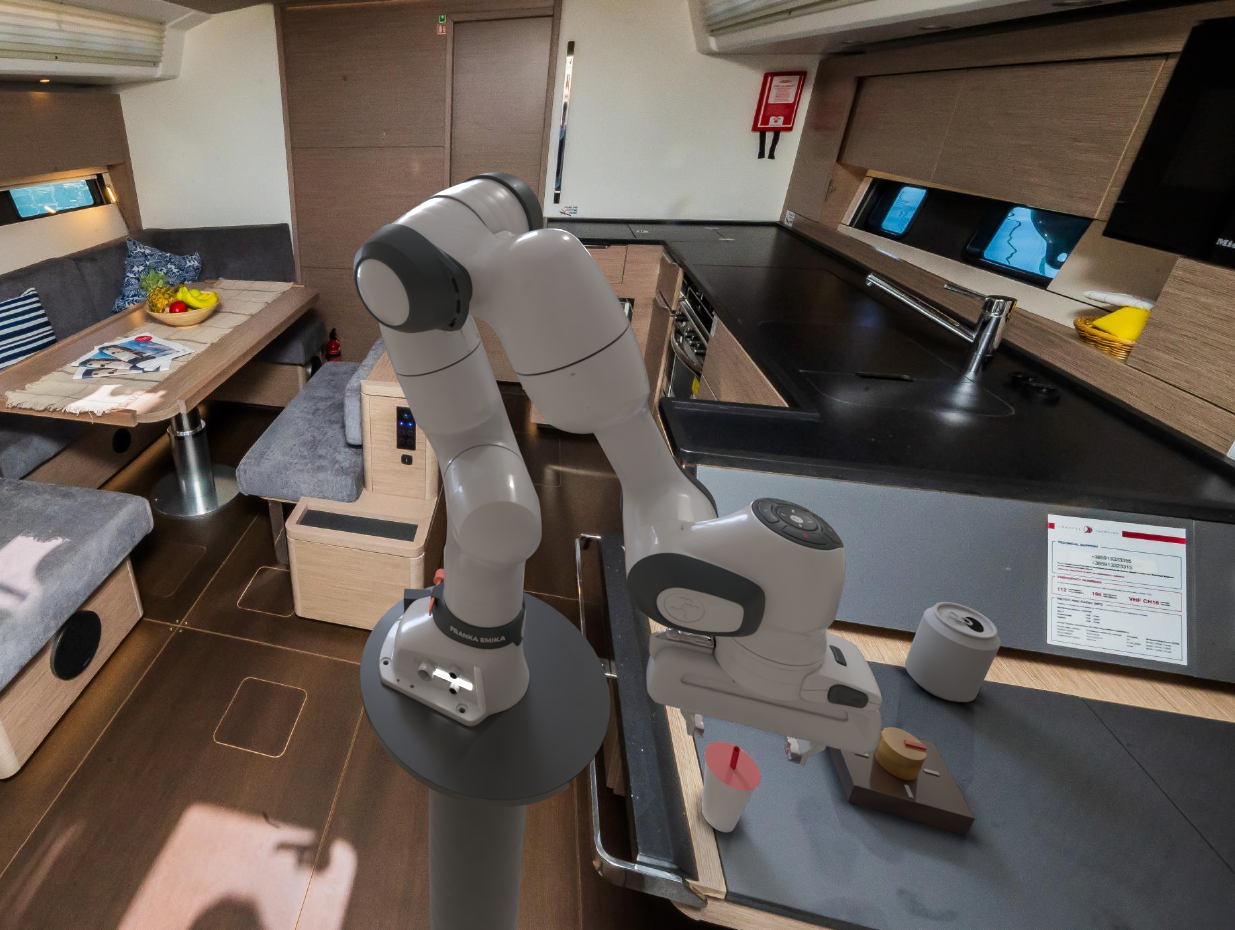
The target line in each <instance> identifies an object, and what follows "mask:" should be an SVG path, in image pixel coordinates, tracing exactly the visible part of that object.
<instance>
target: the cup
mask: <svg viewBox="0 0 1235 930" xmlns="http://www.w3.org/2000/svg"><path fill="white" fill-rule="evenodd" d="M704 760H705V762H704V773H703V784H702V785H703V786H702V800H701V801H702V802H701V812H702V816H703V817H704V819H705V821H706V822H707V823H708V824H709V825H710V826H711V827H712V828H713V829H715V830H716V831H719V832H722V833H730V832H732V831H734V829H736V826H737V824H738V822H739V820H740V819H741V817H742V815H743V813H744V811H745V809H746V807H747V805H748V804H749V801H750V799H751V797H752V795H753V794H754V792H755V790H756V788H758V787H759V785H760V783H761V771H760V768H759V766H758V765H757V763H756V762H755V760H754V759H753V758H752V756H750V755H749V753H747V751H745V750H743V749H742V748H741V747H739V746H738V745H735V744H734V743H731V742H728V741H727V742H726V741H721V740H719V741H718V740H717V741H713V742H711V743H709V744H708V745H706V748H705V750H704Z"/></svg>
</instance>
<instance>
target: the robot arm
mask: <svg viewBox="0 0 1235 930" xmlns="http://www.w3.org/2000/svg"><path fill="white" fill-rule="evenodd" d="M541 206H542V205H541V203H540V201H539V199H538V196H537V195H536V193H535V192H534V190H533V189H532V188H531V186H529V184H527V183H526V182H525V180H523V179H521V178H520V177H518V176H516V175H514V174H512V173H508V172H499V171H493V172H486V173H480V174H477V175H473V176H470V177H469V178H467V179H465V180H464V181H462V183H459V184H456V185H453V186H451V187H448V188H446V189H443V190H441V191H438V192H437V193H434V194H433V195H431V196H429V197H427V198H425V199H424V200H423V201H421V202H420V203H419V204H418V205H416V206H415V207H413V208H412V209H410V210H409V211H407V212H406V213H403V214H402V215H401V216H400V217H399V218H397V219H396V220H394V221H393V222H391V223H387V224H384V225H383V226H381V227H380V228H378V229H377V230H376V231H375V232H374V233H372V234H371V235H370V236H369V237H368V238H367V239H366V240H365V241H364V242H363V243H362V244H361V246H360V247H359V248H358V249H357V252H356V253H355V255H354V258H353V263H352V264H353V266H352V272H353V273H352V274H353V282H354V286H355V290H356V293H357V295H358V297H359V301H360V302H361V303H362V305H363V307H364V309H365V310H366V312H368V313H369V315H370V316H371V317H372V318H373V319H374V320H375V321H377V322H378V325H379V330H380V333H381V338H382V341H383V344H384V346H385V347H384V348H385V350H386V353H387V356H388V359H389V361H390V364H391V366H392V369H393V371H394V374H395V377H396V379H397V381H398V383H399V386H400V388H401V391H402V393H403V395H404V398H405V400H406V402H407V403H406V404H407V405H408V407H409V410H410V412H411V414H412V418H413V420H414V421H415V424H416V426H417V428H418V429H420V430H421V431H422V433H423V434H424V436H425V437H426V439H427V441H428V443H429V444H430V447H431V448H432V451H433V452H434V454H435V457H436V460H437V462H438V466H439V469H440V472H441V478H442V482H443V489H444V496H445V503H446V504H445V505H446V517H447V519H446V520H447V522H446V541H445V545H444V548H443V568H439V569H438V568H437V570H436V572H435V575H434V577H433V583H434V586H435V585H436V586H435V587H434V588H433V590H432V592H431V590H424V589H425V588H422V589H421V588H404V589H403V599H404V615H402V616H401V617H400V618H399V619H398V620H397V621H396V622H395V623H394V625H393V626H392V627H391V629H390V631H389V632H388V634H387V636H386V639H385V641H384V644H383V647H382V650H381V654H380V661H379V673H380V678H381V681H382V682H383V683H384V684H386V685H388V686H389V687H391V688H393V689H395V690H397V691H399V692H401V693H403V694H405V695H407V696H409V697H411V698H413V699H415V700H417V701H419V702H421V703H423V704H425V705H427V706H429V707H431V708H433V709H435V710H437V711H439V712H441V713H443V714H445V715H446V716H448V717H450V718H452V719H454V720H456V721H458V722H460V723H462V724H464V725H466V726H475V725H477V724H479V723H480V722H481V721H482V720H484V719H485V718H486V717H487V716H489V715H491V714H494V713H498V712H501V711H504V710H507V709H509V708H511V707H512V706H514V705H515V704H517V703H518V702H519V701H520V700H521V699H522V697H523V696H524V694H525V692H526V690H527V688H528V684H529V670H528V666H527V663H526V660H525V656H524V651H523V643H522V639H523V636H524V631H525V620H526V609H525V599H524V596H523V592H524V583H525V570H526V569H525V568H526V561H527V560H528V559H530V557H531V556H532V555H534V554H535V552H536V551H537V549H538V548H539V546H540V544H541V540H542V536H543V535H542V534H543V533H542V532H543V530H542V529H543V526H542V525H543V524H542V514H541V513H542V512H541V505H540V499H539V496H538V493H537V491H536V489H535V486H534V484H533V480H532V478H531V475H530V473H529V471H528V468H527V465H526V463H525V460H524V457H523V454H522V453H521V451H520V447H519V445H518V442H517V439H516V436H515V433H514V431H513V428H512V425H511V422H510V419H509V415H508V413H507V410H506V407H505V404H504V401H503V398H502V393H501V391H500V388H499V386H498V383H497V380H496V377H495V375H494V371H493V368H492V366H491V363H490V360H489V358H488V353H487V352H486V349H485V346H484V343H483V339H482V338H481V335H480V332H479V329H478V327H477V324H476V322H475V320H474V317H475V318H478V319H480V320H482V321H483V322H485V323H486V324H487V325H488V326H490V328H491V329H492V330H493V331H494V333H495V335H496V336H497V338H498V340H499V341H500V343H501V345H502V347H503V350H504V352H505V354H506V356H507V358H508V360H509V363H510V365H511V367H512V369H513V370H514V373H515V376H516V377H517V379H518V381H519V382H520V385H521V386H522V388H523V390H524V392H525V393H526V395H527V397H528V398H529V400H530V401H531V403H532V405H534V407H535V408H536V410H537V411H538V412H539V414H540V415H541V416H542V417H543V418H544V420H545V421H546V422H547V423H548V424H549V425H550V426H551V427H554V428H556V429H557V430H561V431H564V432H568V433H571V434H581V435H584V434H585V435H586V434H593V435H594V436H595V439H597V441H598V444H599V445H600V447H601V449H602V450H603V452H604V454H605V456H606V458H607V459H608V461H609V464H610V465H611V467H612V469H613V471H614V472H615V474H616V476H617V478H618V480H619V482H620V498H619V508H620V509H619V510H620V515H621V516H620V517H621V522H622V528H623V544H624V564H625V575H626V576H625V577H626V589H627V593H628V595H629V598H630V599H631V601H632V603H633V604H634V605H635V607H636V608H637V609H639V611H640V612H641V613H643V614H644V615H645V616H646V617H647V618H649V619H650V620H652V621H653V622H655V623H657V624H659V625H661V626H663V627H665V628H666V629H665V630H658V631H655V632H652V633H651V634H650V636H649V638H648V645H647V652H648V654H649V657H648V660H647V663H646V670H645V671H646V672H645V680H646V681H645V683H646V690H647V691H646V692H647V694H648V695H649V697H650V698H651V699H652V700H653V702H654V703H656V704H659V705H663V706H668V707H671V708H675V709H680V710H679V711H680V712H679V713H680V715H681V716H682V718H683V719H684V721H685V727H686V734H687V736H690V737H695V738H698V739H703V738H704V733H705V724H704V718H703V716H707V717H710V718H714V719H719V720H723V721H727V722H731V723H735V724H738V725H743V726H746V727H751V728H754V729H758V730H762V731H766V732H770V733H775V734H779V735H782V736H786V739H785V743H784V748H783V749H784V753H785V755H786V760H787V762H789V763H793V764H796V765H800V766H803V767H805V766H806V765H807V762H808V759H809V757H813V756H814V755H817V754H819V753H821V752H823V751H825V750H826V748H827V747H828V746H829V747H833V748H837V749H841V750H845V751H849V752H853V753H857V754H862V755H863V754H867V753H870V752H873V751H875V750H876V748H877V746H878V743H879V740H880V736H881V730H883V718H882V715H881V713H880V710H879V709H880V708H881V706H882V704H883V697H882V693H881V690H880V687H879V685H878V682H877V680H876V677H875V676H874V675H875V674H874V673H873V671H872V669H871V667H870V665H869V663H868V661H867V659H866V658H865V656H864V655H863V653H862V651H861V650H860V648H859V647H858V645H857V644H855V643H853V642H852V641H851V640H848V639H845V638H843V637H841V636H838V635H836V634H833V633H831V632H829V631H827V630H828V628H830V626H831V625H832V624H833V623H834V621H835V619H836V618H837V615H838V611H839V607H840V604H841V600H842V595H843V590H844V586H845V578H846V569H847V553H846V547H845V545H844V543H843V541H842V539H841V538H840V536H839V534H838V533H837V532H836V531H835V530H834V528H833V527H832V526H831V524H829V523H828V522H827V521H826V520H825V519H824V518H823V517H821V516H819V515H817V514H816V513H814V512H813V511H811V510H809V508H806V507H804V506H803V505H801V504H797V503H795V502H792V501H790V500H789V501H788V500H785V499H780V498H776V497H760V498H756V499H754V500H752V501H751V502H749V503H748V504H747V505H746V506H744V507H743V508H741V509H739V510H736V511H734V512H731V513H728V514H726V515H723V516H719V512H718V506H717V503H716V500H715V498H714V497H713V495H712V493H711V491H710V490H709V489H708V488H707V487H706V486H705V484H704V483H702V482H701V481H700V479H698V478H697V477H695V476H694V475H693V474H692V473H691V472H690V471H688V470H687V469H686V468H685V467H683V466H682V465H681V464H680V463H679V461H678V460H677V459H676V458H675V456H674V454H673V453H672V451H671V449H670V447H669V444H668V442H667V441H666V439H665V437H664V435H663V433H662V431H661V429H660V427H659V425H658V422H657V421H656V419H655V417H654V415H653V412H652V410H651V409H650V405H649V401H648V400H649V398H650V395H651V386H650V385H651V384H650V380H649V375H648V371H647V367H646V363H645V359H644V355H643V352H642V349H641V346H640V343H639V341H638V338H637V336H636V333H635V331H634V328H633V325H632V324H631V322H630V320H629V317H628V316H627V314H626V310H624V308H623V305H622V303H621V301H620V300H619V298H618V295H617V294H616V292H615V290H614V288H613V287H612V286H611V283H610V282H609V280H608V279H607V277H606V275H605V274H604V272H603V271H602V269H601V267H600V266H599V264H597V262H596V260H595V259H594V257H593V256H592V255H591V253H590V252H589V250H587V248H586V247H585V246H584V244H583V243H582V242H581V241H580V239H578V238H577V237H576V236H575V235H574V234H572V233H571V232H569V231H567V230H563V229H560V228H543V226H544V216H543V210H542V207H541ZM713 636H714V637H713ZM384 664H388V665H384ZM460 711H463V712H465V713H460Z"/></svg>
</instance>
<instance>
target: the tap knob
mask: <svg viewBox="0 0 1235 930" xmlns="http://www.w3.org/2000/svg"><path fill="white" fill-rule="evenodd" d="M882 730H883V731H882V733H881V736H880V740H879V743H878V746H877V748H876V750H875V751H874V755H875V758H876V760H877V761H878V763H879V764H880V765H881V766H882V767H883V768H884V769H885V770H886V771H888V772H889V773H891V774H892V775H894V776H896V777H898V778H901V779H904V780H914V779H916V778H917V777H918V774H919V772H920V770H921V768H922V765H923V763H924V761H925V759H926V757H927V752H926V749H927V748H926V746H925V745H924V744H922V743H921V742H920V741H919V740H918V739H919V738H917V737H916V736H914V735H913V734H911V733H910V732H908V731H906V730H904V729H902V728H900V727H895V726H887V727H884V728H882Z"/></svg>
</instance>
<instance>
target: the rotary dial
mask: <svg viewBox="0 0 1235 930" xmlns="http://www.w3.org/2000/svg"><path fill="white" fill-rule="evenodd" d="M882 731H883V729H882V730H881V733H882ZM917 739H918V740H919V741H920V742H921V743H922V744H924V745H925V746H926V748H927V749H926V752H927V757H926V759H925V761H924V763H923V765H922V768H921V770H920V772H919V774H918V777H917V778H916V779H914V780H904V779H901V778H898V777H896V776H894V775H892V774H891V773H889V772H888V771H886V770H885V769H884V768H883V767H882V766H881V765H880V764H879V763H878V761H877V760H876V758H875V755H874V751H873V752H870V753H867V754H863V755H862V754H857V753H853V752H849V751H845V750H841V749H837V748H833V747H829V746H827V749H828V751H829V753H830V754H829V755H830V756H831V759H832V762H833V765H834V767H835V771H836V773H837V776H838V779H839V782H840V783H841V786H842V790H843V792H844V795H845V798H846V800H847V802H848V803H850V804H855V805H858V806H861V807H864V808H868V809H871V810H875V811H878V812H881V813H885V814H889V815H892V816H893V815H894V816H897V817H900V818H903V819H907V820H910V821H913V822H916V823H917V822H918V823H921V824H924V825H927V826H930V827H934V828H938V829H942V830H944V831H949V832H952V833H956V834H959V835H962V836H968V833H969V832H970V830H971V828H972V826H973V824H974V822H975V821H976V818H975V816H974V814H973V812H972V810H971V808H970V806H969V805H968V802H967V801H966V800H965V796H964V795H963V794H962V791H961V789H960V788H959V786H958V784H957V782H956V781H955V778H954V777H953V775H952V773H951V771H950V769H949V767H948V766H947V764H946V762H945V760H944V758H943V756H942V754H941V753H940V751H939V749H938V747H937V745H936V743H935V742H932V741H929V740H924V739H920V738H917Z"/></svg>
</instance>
